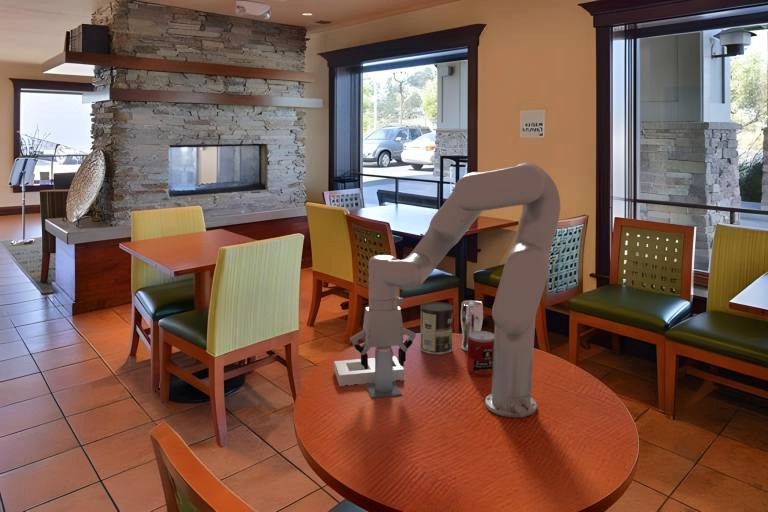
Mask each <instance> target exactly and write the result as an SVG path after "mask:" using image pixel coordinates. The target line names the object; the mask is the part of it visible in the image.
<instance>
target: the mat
mask: <svg viewBox="0 0 768 512" xmlns="http://www.w3.org/2000/svg"><path fill="white" fill-rule="evenodd" d="M365 387H366V389H367V391H368V394H369V395H370V397H371V399H379V398H387V397H398V395H399V396H402V392H401V390H400V388H399V387H398V385H397V383H396V381H392V391H390V392H385V393H382V392H378V391H376V390H375V383H369V384H365Z"/></svg>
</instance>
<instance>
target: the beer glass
mask: <svg viewBox="0 0 768 512" xmlns="http://www.w3.org/2000/svg"><path fill="white" fill-rule="evenodd" d="M483 304H484V303H483V302H482V301H479V300H472V299H469V300H467V299H466V300H463V301H462V302H461V306H460V307H461V308H460V324H461V331H462V333H461V334H462V341H461V346H460V348H461V350H462V351H464V352H465V351H466V352H468V336H469V333H471V332H473V331H482V325H483V321H484V306H483Z"/></svg>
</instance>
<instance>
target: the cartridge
mask: <svg viewBox="0 0 768 512" xmlns="http://www.w3.org/2000/svg"><path fill="white" fill-rule="evenodd" d="M393 356H394V351H393V348H392V346H387V347H375V349H374V358H375V390H376V391H378V392H382V393H385V392H390V391H392V365H393Z"/></svg>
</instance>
